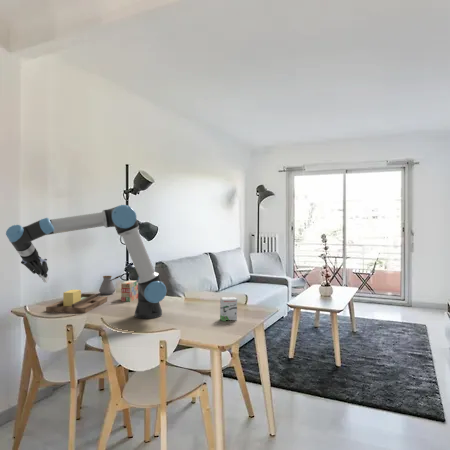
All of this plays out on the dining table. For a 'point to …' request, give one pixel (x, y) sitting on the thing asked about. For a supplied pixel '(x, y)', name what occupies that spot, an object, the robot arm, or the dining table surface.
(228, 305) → the ink box
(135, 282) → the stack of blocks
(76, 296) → the ochre block
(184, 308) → the dining table surface
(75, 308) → the trap board
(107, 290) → the coffee pot
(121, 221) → the robot arm
